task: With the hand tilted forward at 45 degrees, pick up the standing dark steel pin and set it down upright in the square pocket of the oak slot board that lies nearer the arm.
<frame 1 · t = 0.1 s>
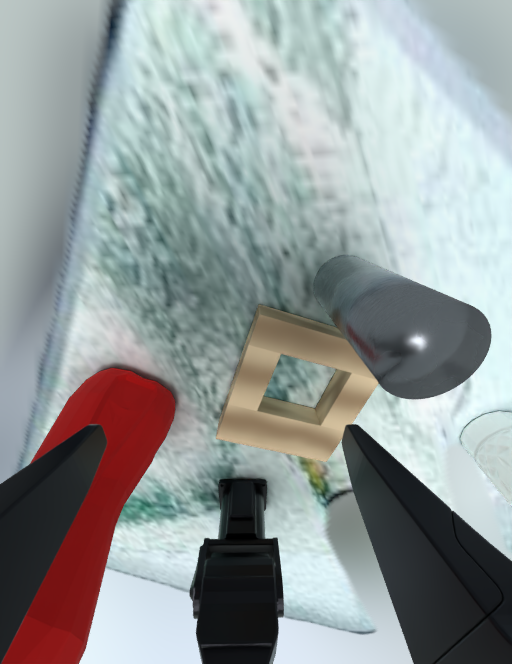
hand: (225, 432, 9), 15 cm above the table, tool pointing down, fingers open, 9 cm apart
pin: (342, 284, 22), on the table
white cup: (486, 429, 30), on the table
water bottle: (131, 405, 28), on the table
slot board: (298, 377, 26), on the table
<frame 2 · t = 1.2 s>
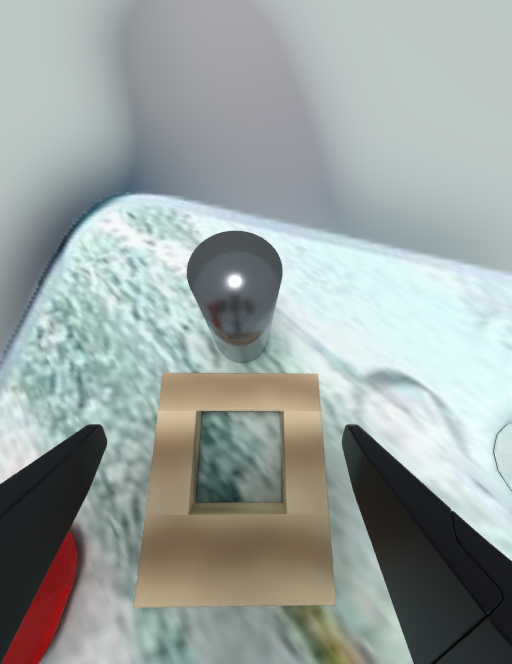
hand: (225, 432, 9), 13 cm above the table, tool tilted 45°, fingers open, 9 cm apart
pin: (242, 337, 24), on the table
water bottle: (11, 596, 18), on the table
slot board: (240, 454, 21), on the table
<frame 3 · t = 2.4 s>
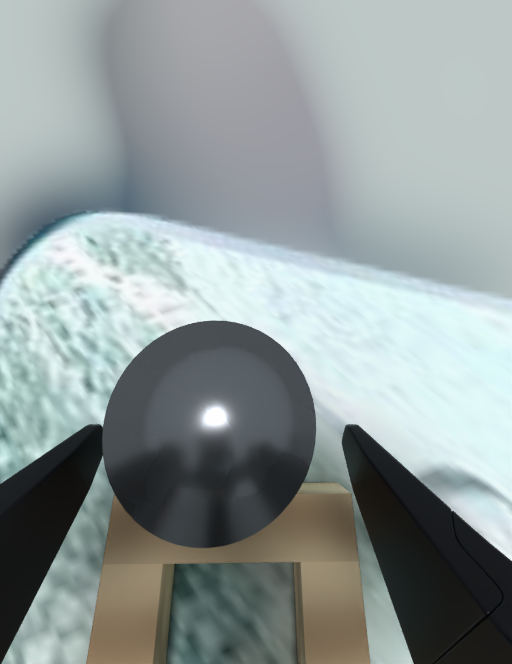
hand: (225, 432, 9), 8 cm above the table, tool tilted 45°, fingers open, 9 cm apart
pin: (237, 418, 17), on the table
slot board: (233, 616, 14), on the table
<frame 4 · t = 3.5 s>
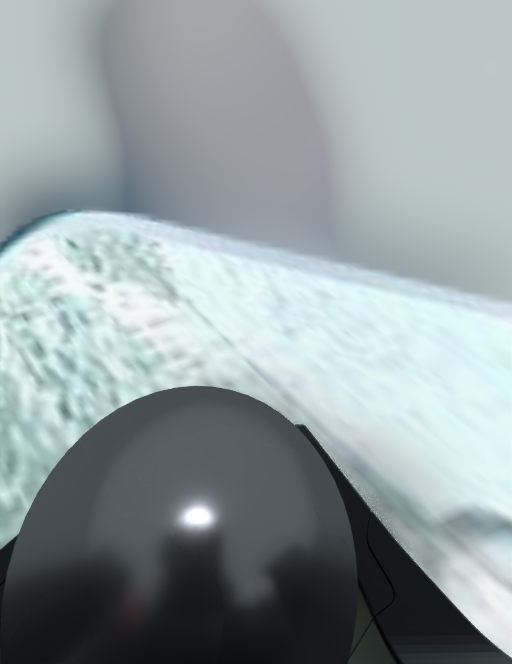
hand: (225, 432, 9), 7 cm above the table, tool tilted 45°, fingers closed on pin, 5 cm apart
pin: (234, 449, 15), on the table, touching gripper
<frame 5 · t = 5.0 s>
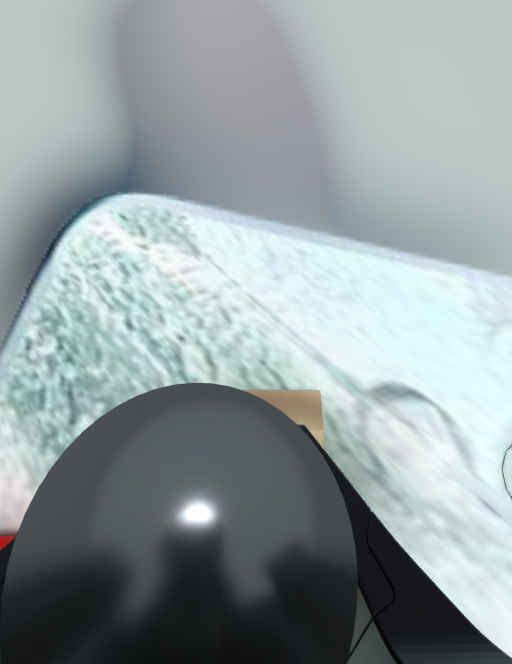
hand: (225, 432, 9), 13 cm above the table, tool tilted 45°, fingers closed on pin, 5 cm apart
pin: (234, 448, 15), point 6 cm above the table, touching gripper
slot board: (238, 473, 20), on the table
when the fingers open (8 cm above the table, at t = 6.6 s): pin drops 1 cm, resting in slot board.
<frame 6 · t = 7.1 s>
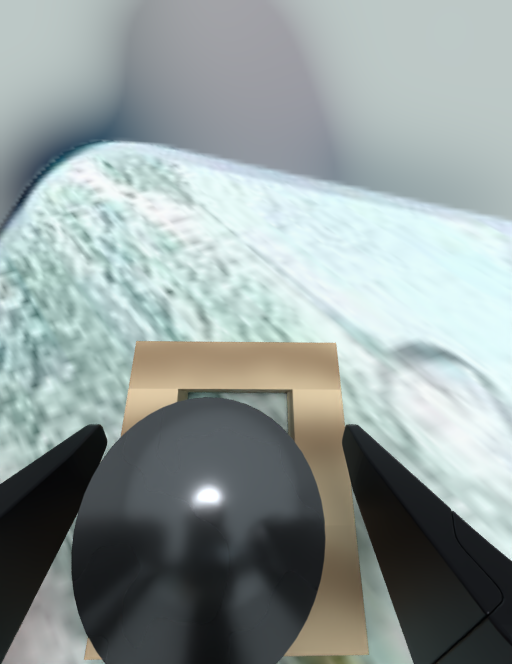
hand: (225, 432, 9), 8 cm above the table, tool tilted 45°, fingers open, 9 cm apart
pin: (236, 448, 16), resting in slot board
slot board: (236, 446, 16), on the table
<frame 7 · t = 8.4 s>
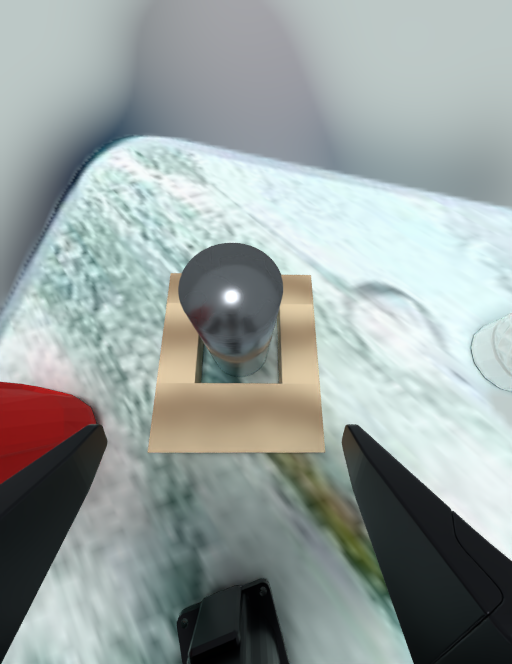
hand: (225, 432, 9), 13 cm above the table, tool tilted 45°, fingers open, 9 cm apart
pin: (240, 350, 23), resting in slot board
white cup: (503, 357, 24), on the table
water bottle: (36, 459, 20), on the table
slot board: (240, 348, 23), on the table
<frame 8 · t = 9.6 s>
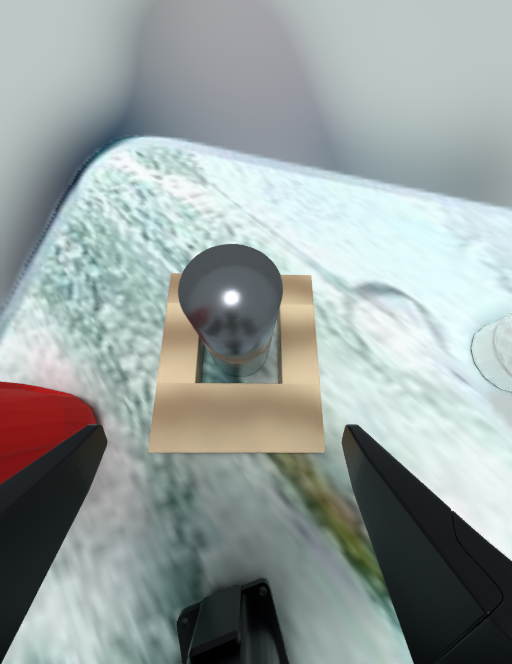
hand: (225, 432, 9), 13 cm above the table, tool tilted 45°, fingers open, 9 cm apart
pin: (240, 350, 23), resting in slot board
white cup: (503, 358, 24), on the table
water bottle: (36, 459, 20), on the table
slot board: (241, 349, 23), on the table
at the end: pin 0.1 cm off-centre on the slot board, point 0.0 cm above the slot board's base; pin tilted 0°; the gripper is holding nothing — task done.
